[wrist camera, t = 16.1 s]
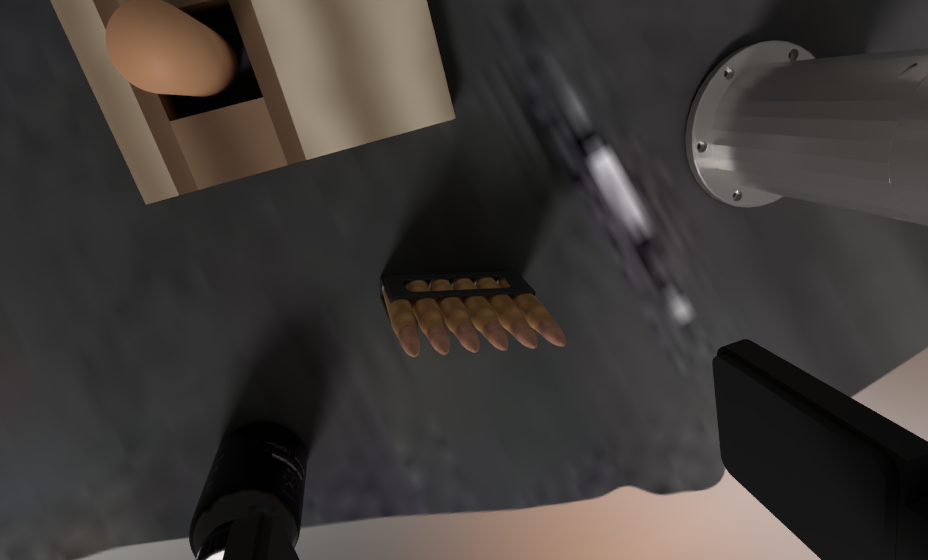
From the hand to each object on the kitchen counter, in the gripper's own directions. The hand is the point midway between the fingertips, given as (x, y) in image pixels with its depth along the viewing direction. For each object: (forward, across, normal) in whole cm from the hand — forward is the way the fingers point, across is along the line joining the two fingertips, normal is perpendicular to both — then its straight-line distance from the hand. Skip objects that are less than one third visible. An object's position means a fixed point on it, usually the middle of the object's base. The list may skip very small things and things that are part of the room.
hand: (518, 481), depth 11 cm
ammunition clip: (+31, -3, +7) cm, 32 cm away
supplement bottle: (+31, +15, +16) cm, 38 cm away
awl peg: (+30, +8, -12) cm, 34 cm away
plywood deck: (+30, +4, -12) cm, 33 cm away
